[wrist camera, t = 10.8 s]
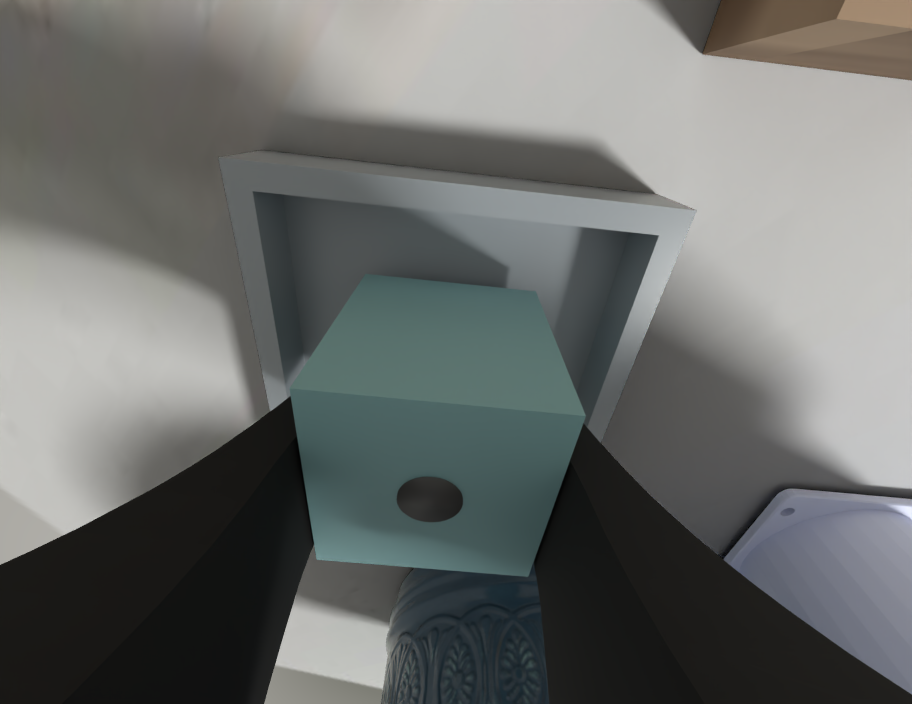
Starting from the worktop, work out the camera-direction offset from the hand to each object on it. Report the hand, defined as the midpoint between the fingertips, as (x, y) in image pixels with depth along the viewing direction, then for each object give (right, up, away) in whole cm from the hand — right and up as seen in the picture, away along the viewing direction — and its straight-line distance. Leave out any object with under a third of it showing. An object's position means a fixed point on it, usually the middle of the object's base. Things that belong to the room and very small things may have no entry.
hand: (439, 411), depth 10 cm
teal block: (0, +1, +2) cm, 2 cm away
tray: (0, +2, +3) cm, 3 cm away
